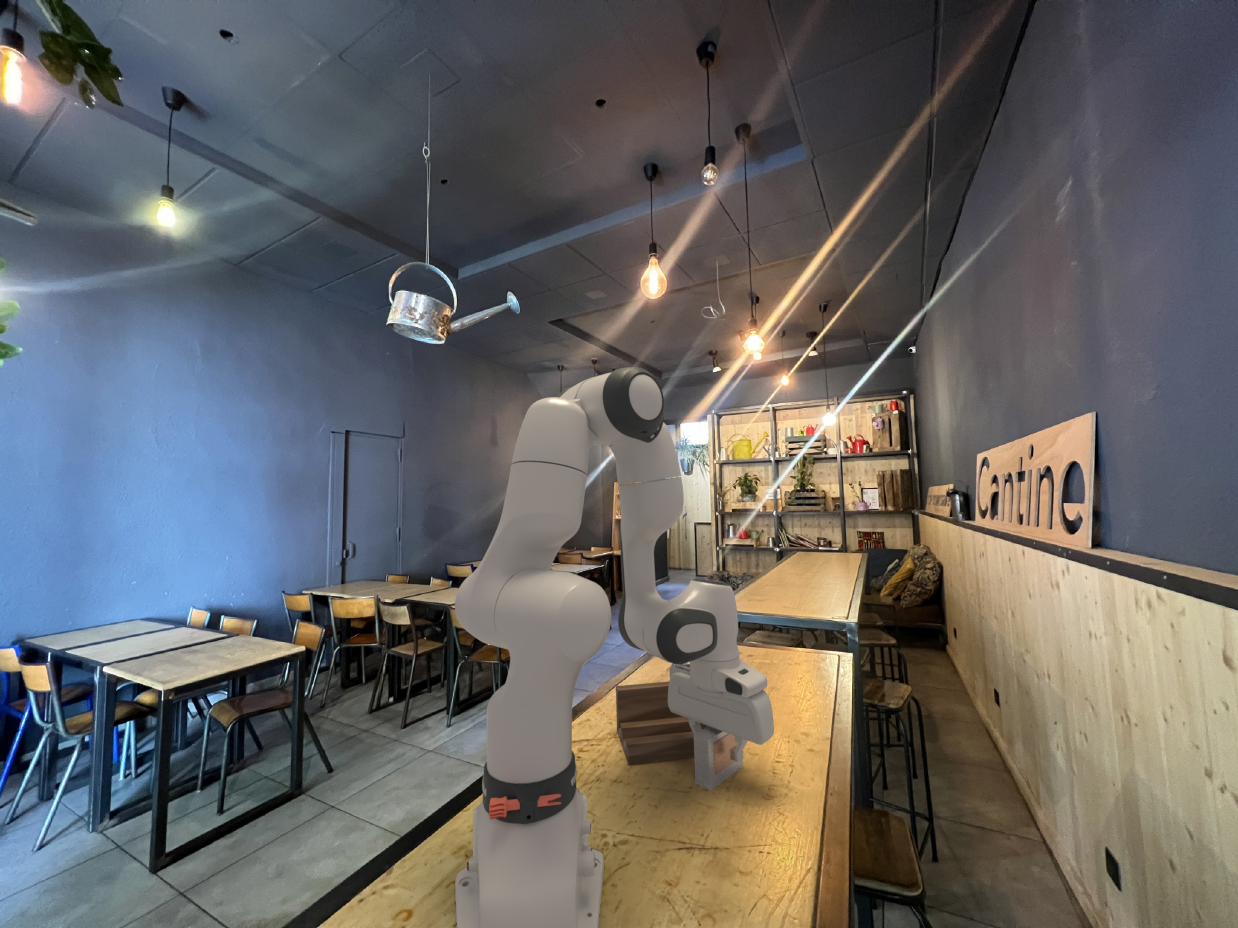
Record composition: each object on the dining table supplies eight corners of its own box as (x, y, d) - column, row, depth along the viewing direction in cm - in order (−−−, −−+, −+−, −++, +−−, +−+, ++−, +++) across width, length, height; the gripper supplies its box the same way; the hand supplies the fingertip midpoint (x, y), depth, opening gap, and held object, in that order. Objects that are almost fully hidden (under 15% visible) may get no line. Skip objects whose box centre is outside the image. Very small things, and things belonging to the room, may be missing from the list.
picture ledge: (722, 753, 90) (720, 704, 91) (628, 764, 88) (627, 713, 88) (698, 721, 104) (696, 678, 105) (616, 730, 101) (615, 685, 102)
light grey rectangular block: (743, 767, 86) (741, 720, 86) (711, 791, 79) (709, 740, 80) (728, 760, 88) (726, 715, 89) (695, 783, 81) (693, 734, 82)
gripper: (659, 662, 90) (661, 739, 89) (756, 690, 76) (761, 782, 75) (680, 654, 95) (682, 727, 94) (776, 679, 80) (780, 766, 79)
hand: (718, 752), depth 84 cm, fingers open, 6 cm apart
